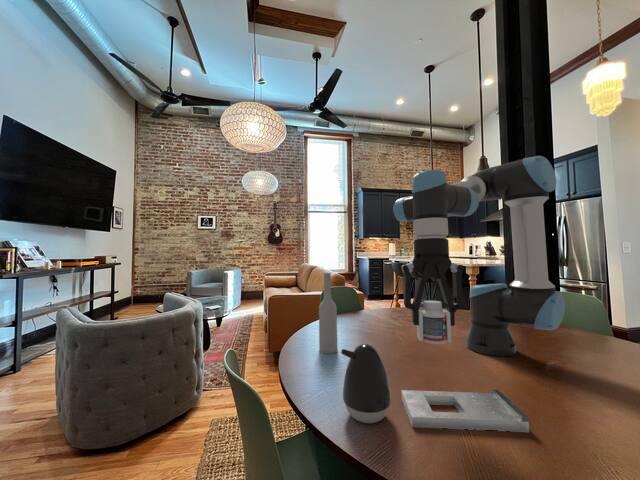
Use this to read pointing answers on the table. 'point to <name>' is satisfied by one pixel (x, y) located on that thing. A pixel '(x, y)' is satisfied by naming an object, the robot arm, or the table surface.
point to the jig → (464, 411)
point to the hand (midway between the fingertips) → (433, 339)
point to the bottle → (327, 320)
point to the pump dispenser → (366, 385)
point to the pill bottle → (433, 322)
